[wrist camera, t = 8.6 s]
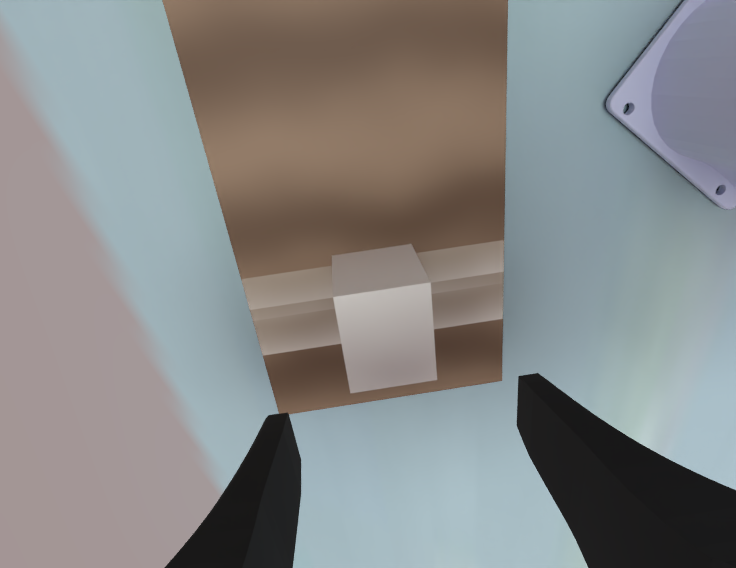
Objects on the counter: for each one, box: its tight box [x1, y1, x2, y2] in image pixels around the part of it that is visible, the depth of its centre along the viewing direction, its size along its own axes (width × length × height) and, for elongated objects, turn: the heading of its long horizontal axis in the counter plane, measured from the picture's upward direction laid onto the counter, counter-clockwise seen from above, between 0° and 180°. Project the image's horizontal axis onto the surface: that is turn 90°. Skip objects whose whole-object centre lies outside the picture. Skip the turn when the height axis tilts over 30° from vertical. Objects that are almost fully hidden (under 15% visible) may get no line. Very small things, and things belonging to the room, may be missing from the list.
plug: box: [332, 244, 437, 393], centre depth 20 cm, size 4×4×6 cm
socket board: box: [163, 0, 508, 414], centre depth 19 cm, size 24×12×2 cm, turn 7°
